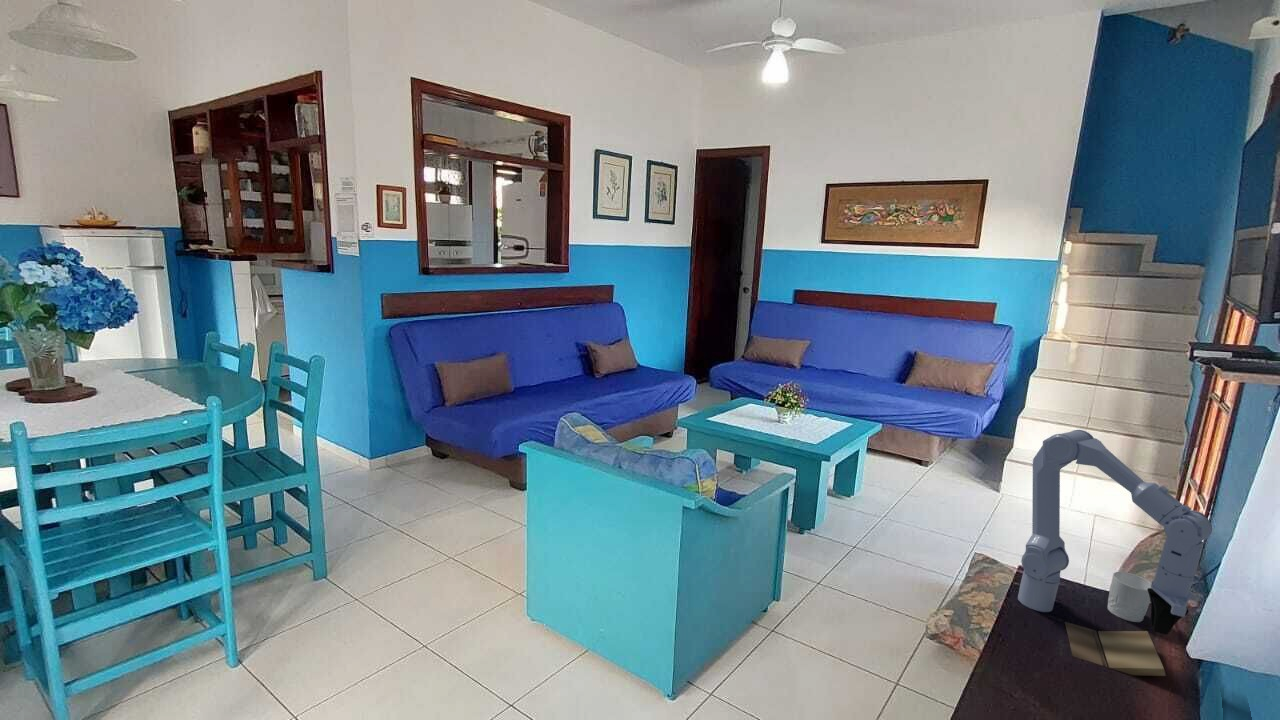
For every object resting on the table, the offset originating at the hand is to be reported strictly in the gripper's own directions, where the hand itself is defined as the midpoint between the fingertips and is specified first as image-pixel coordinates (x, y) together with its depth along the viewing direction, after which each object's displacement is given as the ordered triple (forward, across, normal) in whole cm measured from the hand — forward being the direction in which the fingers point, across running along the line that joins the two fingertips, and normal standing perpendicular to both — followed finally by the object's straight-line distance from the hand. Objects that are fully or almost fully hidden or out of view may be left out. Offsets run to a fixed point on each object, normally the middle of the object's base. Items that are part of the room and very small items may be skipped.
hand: (1158, 629), depth 132 cm
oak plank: (+8, 0, +3) cm, 8 cm away
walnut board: (+9, 0, +11) cm, 15 cm away
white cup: (+10, +20, +1) cm, 22 cm away
